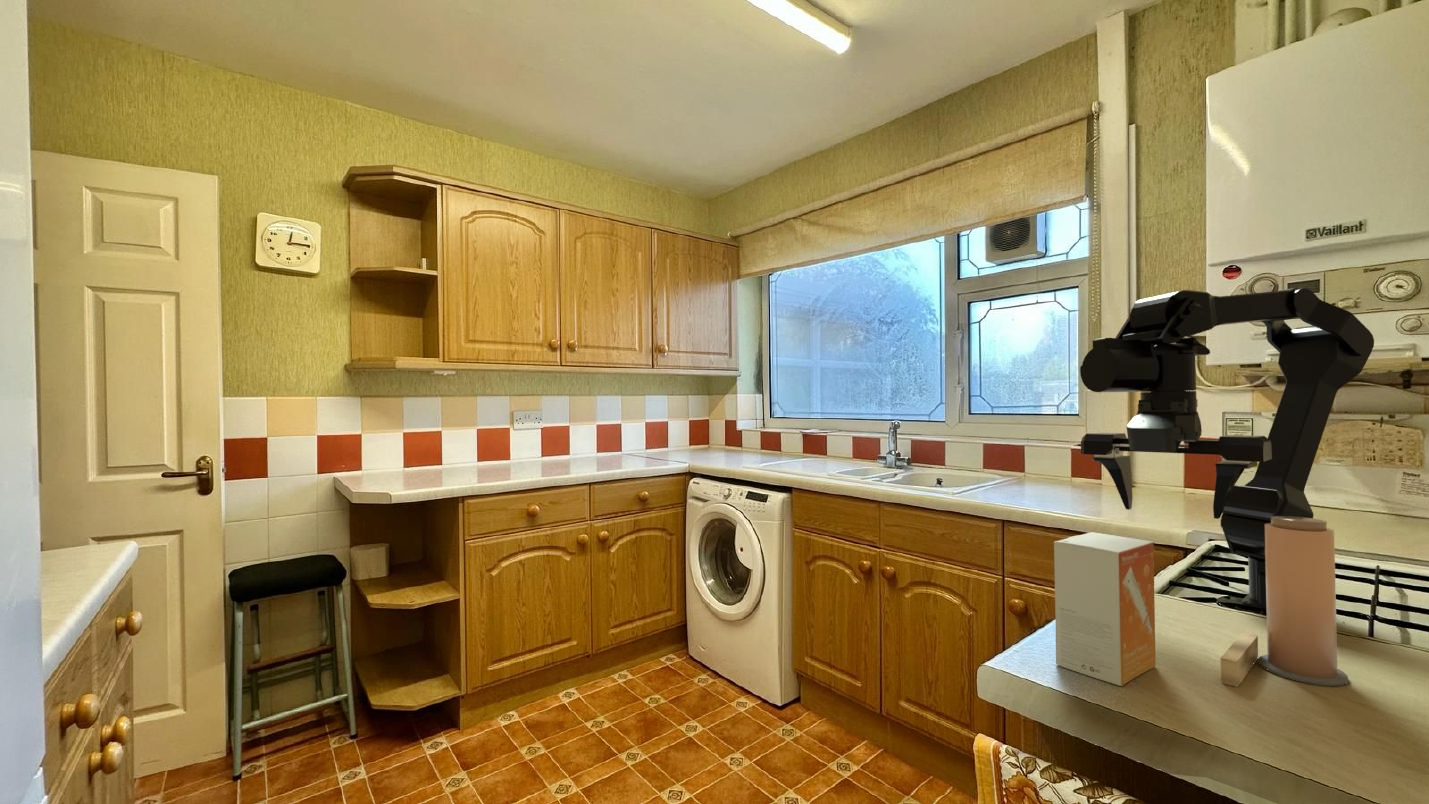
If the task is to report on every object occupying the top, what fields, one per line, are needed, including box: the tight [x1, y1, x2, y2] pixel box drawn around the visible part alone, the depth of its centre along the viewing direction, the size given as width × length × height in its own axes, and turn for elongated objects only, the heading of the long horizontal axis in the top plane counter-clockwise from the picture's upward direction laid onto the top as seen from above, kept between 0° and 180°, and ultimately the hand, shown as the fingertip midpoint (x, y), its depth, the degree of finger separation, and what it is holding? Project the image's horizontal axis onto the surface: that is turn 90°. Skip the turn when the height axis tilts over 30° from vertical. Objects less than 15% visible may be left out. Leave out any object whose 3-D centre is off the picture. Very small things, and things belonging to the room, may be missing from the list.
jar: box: [1265, 516, 1338, 678], centre depth 60 cm, size 5×5×15 cm
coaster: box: [1257, 654, 1349, 687], centre depth 60 cm, size 6×6×1 cm
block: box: [1220, 631, 1259, 688], centre depth 60 cm, size 10×1×2 cm, turn 129°
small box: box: [1053, 531, 1157, 687], centre depth 62 cm, size 8×6×13 cm
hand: (1170, 513), depth 76 cm, fingers open, 9 cm apart
